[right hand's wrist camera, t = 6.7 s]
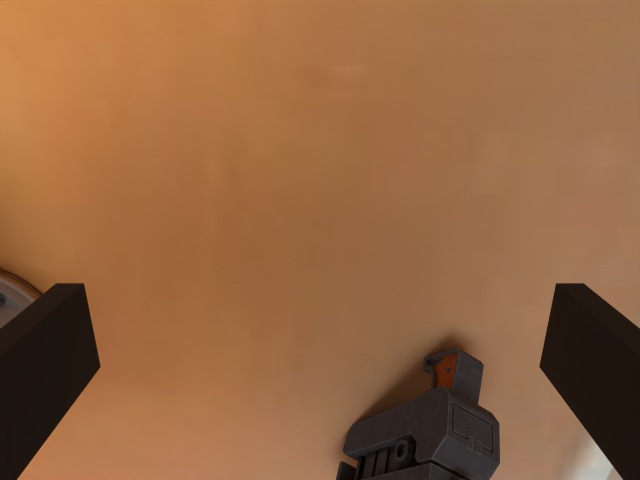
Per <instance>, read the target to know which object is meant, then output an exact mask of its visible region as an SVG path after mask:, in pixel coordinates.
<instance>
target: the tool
mask: <svg viewBox="0 0 640 480" xmlns="http://www.w3.org/2000/svg"><path fill="white" fill-rule="evenodd" d="M483 367H484V365H483V364H482V362H481V361H479V360H477V359H476V358H474V357H472V356H471V355H469V354H467V353H466V352H464V351H462V350H461V349H459V348H454V349H451V350H447V351H444V352H440V353H437V354H434V355H430V356H427V357H425V359H424V364H423V370H425V371H426V372H428V373H430V374H431V377H432V383H431V390H428V391H426V392H424V393H423V394H422V395H420V396H418V397H416V398H413V399H411V400H409V401H407V402H404V403H402V404H400V405H398V406H395V407H393V408H391V409H389V410H386V411H384V412H382V413H380V414H377V415H375V416H373V417H371V418H368V419H366V420H364V421H362V422H359V423H357V424H355V425H353V426H352V427H351V429H350V430H349V432H348V433H347V437H346V441H345V444H344V448H343V452H344V453H345V454H346V455H347V456H349V457H351V458H353V459H355V460H357V461H358V464H357V469H356V468H354V467H353V466H351V465H349V464H347V463H345V462H343V461H341V462H340V465H339V469H338V473H337V477H336V480H490V478H491V477H492V475H493V474H494V472H495V470H496V469H497V467H498V466H499V464H500V438H499V422H498V421H497V420H496V418H495V417H494V415H493V414H492V413H491V412H489V411H488V410H486V409H484V408H482V407H481V406H479V405H478V401H479V394H480V387H481V381H482V374H483Z"/></svg>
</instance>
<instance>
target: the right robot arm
mask: <svg viewBox="0 0 640 480" xmlns="http://www.w3.org/2000/svg"><path fill="white" fill-rule="evenodd" d="M99 368H100V362H99V357H98V352H97V347H96V342H95V337H94V332H93V327H92V322H91V317H90V312H89V307H88V302H87V297H86V292H85V287H84V283H56V284H55V285H54V286H53V287H51V288H50V289H49V290H48V291H46V292H45V293H44V294H43V295H41V294H40V293H39V292H38V291H37V290H36V289H35V288H33V287H32V286H31V285H29V284H28V283H26V282H25V281H23V280H22V279H20V278H18V277H16V276H14V275H12V274H10V273H8V272H5V271H3V270H0V480H17V479H18V477H19V476H20V475H21V473H22V472H23V471H24V469H25V468H26V467H27V465H28V464H29V463H30V461H31V460H32V459H33V457H34V456H35V454H36V453H37V452H38V450H39V449H40V448H41V446H42V445H43V444H44V442H45V441H46V440H47V438H48V437H49V436H50V434H51V433H52V432H53V430H54V429H55V428H56V426H57V425H58V423H59V422H60V421H61V419H62V418H63V417H64V415H65V414H66V413H67V411H68V410H69V409H70V407H71V406H72V405H73V403H74V402H75V401H76V399H77V398H78V397H79V395H80V394H81V392H82V391H83V390H84V388H85V387H86V386H87V384H88V383H89V382H90V380H91V379H92V378H93V376H94V375H95V374H96V372H97V371H98V370H99ZM540 368H541V370H542V371H543V372H544V374H545V375H546V376H547V378H548V379H549V380H550V382H551V383H552V384H553V386H554V387H555V388H556V390H557V391H558V392H559V394H560V395H561V397H562V398H563V399H564V401H565V402H566V403H567V405H568V406H569V407H570V409H571V410H572V411H573V413H574V414H575V415H576V417H577V418H578V419H579V421H580V422H581V423H582V425H583V426H584V428H585V429H586V430H587V432H588V433H589V434H590V436H591V437H592V438H593V440H594V441H595V442H596V444H597V445H598V446H599V448H600V449H601V450H602V452H603V453H604V454H605V456H606V457H607V459H608V460H609V461H610V463H611V464H612V465H613V467H614V468H615V469H616V471H617V472H618V473H619V475H620V476H621V477H622V479H623V480H640V328H638V327H637V326H636V325H635V324H633V323H632V322H631V321H630V320H628V319H627V318H626V317H625V316H623V315H622V314H621V313H620V312H618V311H617V310H616V309H615V308H614V307H612V306H611V305H610V304H609V303H607V302H606V301H605V300H604V299H602V298H601V297H600V296H599V295H597V294H596V293H595V292H594V291H592V290H591V289H590V288H589V287H587V286H586V285H585V284H584V283H556V287H555V292H554V297H553V302H552V307H551V312H550V317H549V322H548V327H547V332H546V337H545V342H544V347H543V352H542V357H541V362H540Z"/></svg>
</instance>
